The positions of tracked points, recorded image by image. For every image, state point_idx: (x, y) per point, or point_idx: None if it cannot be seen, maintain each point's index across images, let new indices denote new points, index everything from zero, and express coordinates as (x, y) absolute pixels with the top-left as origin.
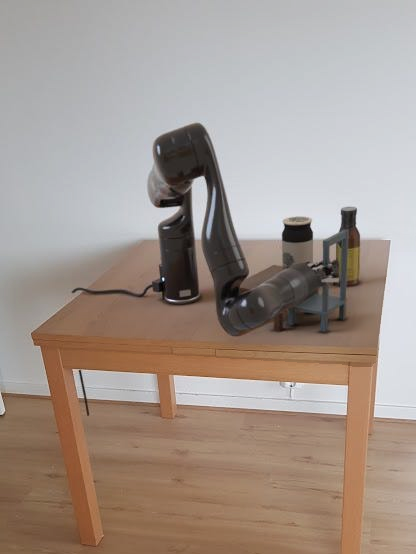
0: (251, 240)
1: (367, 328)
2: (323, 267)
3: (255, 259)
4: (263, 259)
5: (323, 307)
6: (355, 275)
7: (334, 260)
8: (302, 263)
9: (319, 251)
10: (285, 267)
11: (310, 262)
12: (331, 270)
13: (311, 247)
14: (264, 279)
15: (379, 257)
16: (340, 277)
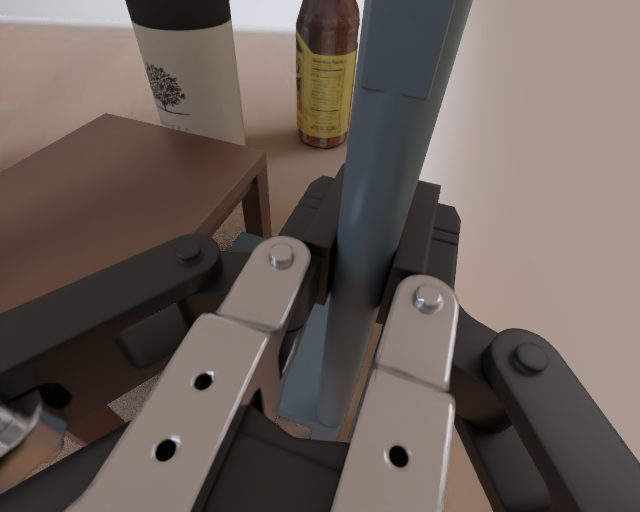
0: (129, 28)
1: None
2: (442, 502)
3: (125, 68)
4: (142, 69)
5: (327, 418)
6: (344, 124)
7: (422, 195)
8: (121, 276)
9: (249, 53)
10: (144, 127)
11: (214, 246)
12: (473, 388)
13: (230, 48)
14: (24, 213)
15: (355, 69)
16: (310, 129)
